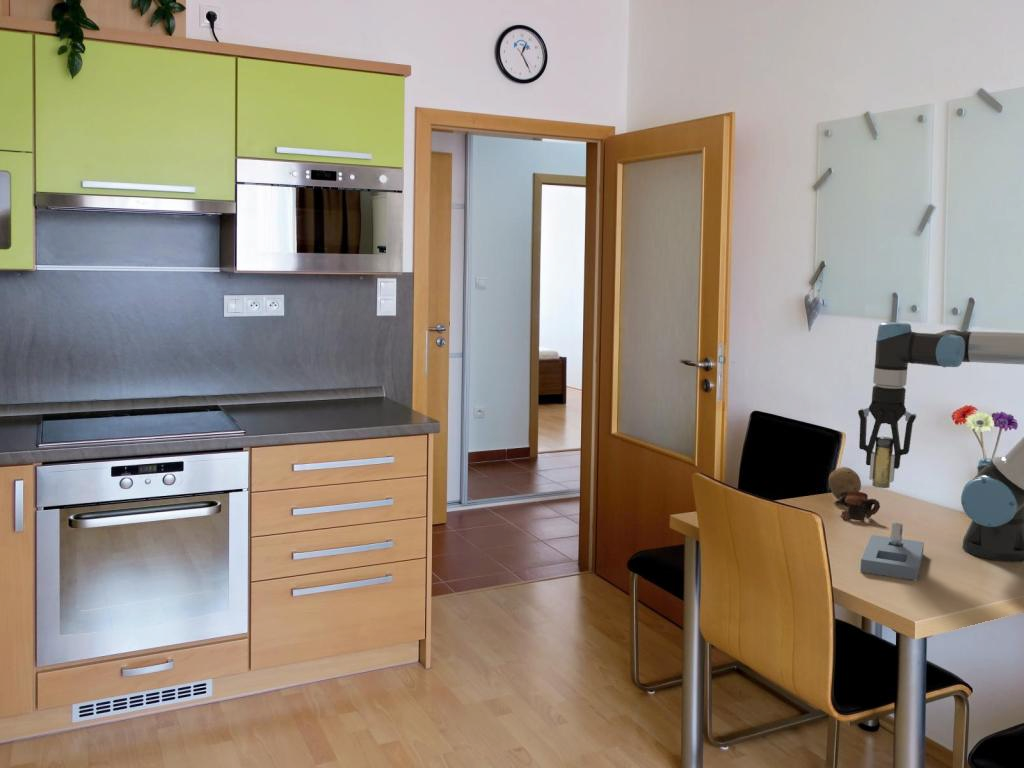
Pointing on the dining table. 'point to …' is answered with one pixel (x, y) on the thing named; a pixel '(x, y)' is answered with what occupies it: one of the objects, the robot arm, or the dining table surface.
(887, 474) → the spice jar
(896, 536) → the silver metal dowel pin
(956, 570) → the dining table surface
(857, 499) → the pottery mug
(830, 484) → the natural sponge
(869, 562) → the block
